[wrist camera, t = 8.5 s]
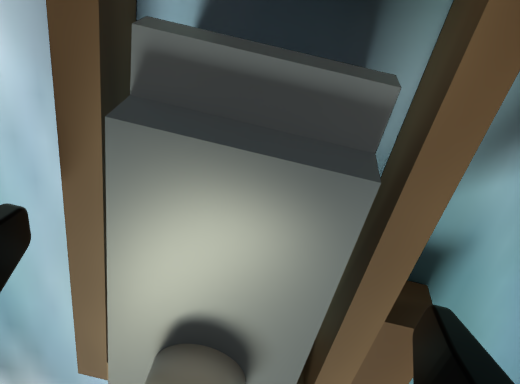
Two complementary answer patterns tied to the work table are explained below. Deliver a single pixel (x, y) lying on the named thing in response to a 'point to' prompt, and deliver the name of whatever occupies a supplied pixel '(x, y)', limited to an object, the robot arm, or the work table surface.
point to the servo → (232, 203)
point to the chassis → (381, 212)
